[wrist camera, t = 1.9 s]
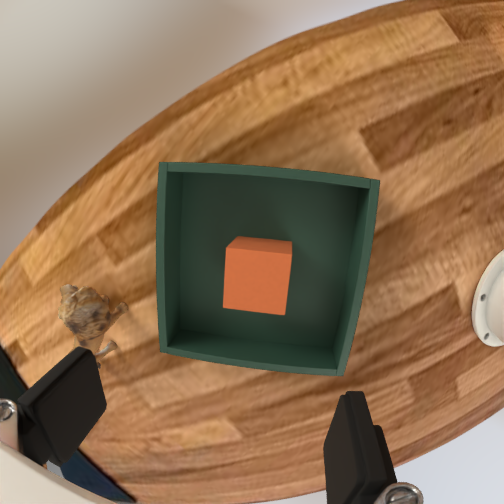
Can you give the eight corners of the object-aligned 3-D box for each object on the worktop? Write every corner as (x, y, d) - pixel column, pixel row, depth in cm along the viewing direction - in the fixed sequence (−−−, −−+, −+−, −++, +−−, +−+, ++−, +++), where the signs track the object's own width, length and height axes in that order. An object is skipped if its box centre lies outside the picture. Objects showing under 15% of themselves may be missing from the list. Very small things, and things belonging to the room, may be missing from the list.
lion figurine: (97, 260, 31) (45, 285, 22) (136, 279, 30) (88, 311, 22) (87, 356, 34) (49, 392, 26) (119, 375, 34) (84, 416, 25)
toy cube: (292, 241, 27) (292, 254, 22) (286, 293, 28) (284, 315, 23) (237, 235, 28) (226, 247, 23) (234, 287, 29) (222, 307, 24)
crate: (366, 180, 25) (380, 180, 21) (338, 352, 29) (343, 376, 25) (177, 164, 27) (158, 161, 23) (174, 332, 31) (159, 352, 27)
